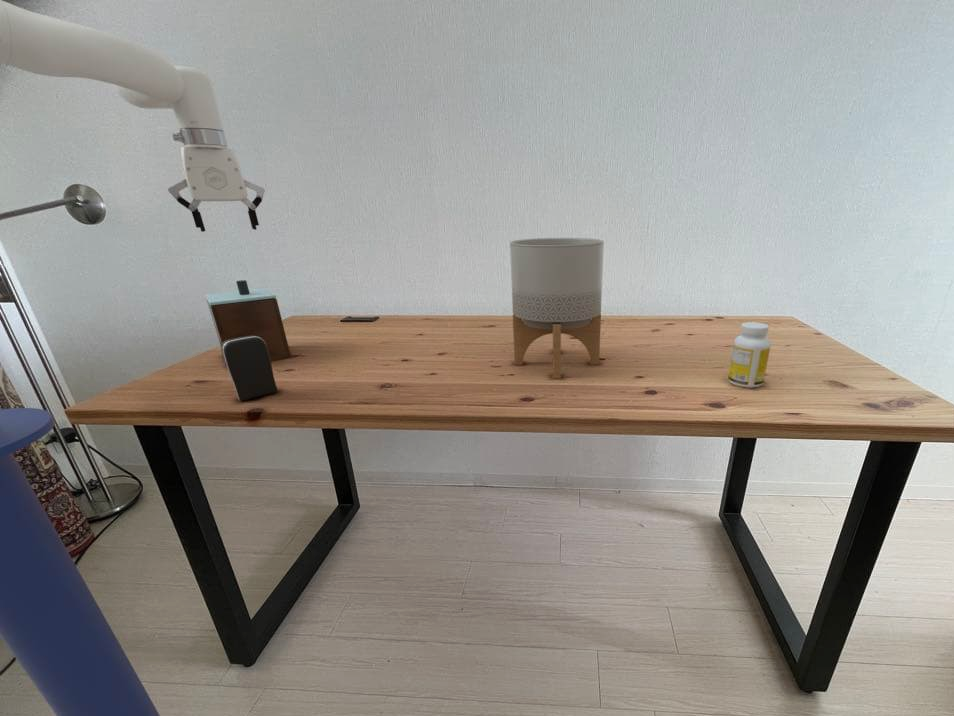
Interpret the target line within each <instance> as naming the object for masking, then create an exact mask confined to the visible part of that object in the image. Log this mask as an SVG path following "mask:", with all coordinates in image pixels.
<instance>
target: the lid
mask: <svg viewBox="0 0 954 716" xmlns="http://www.w3.org/2000/svg"><path fill="white" fill-rule="evenodd" d="M235 283H236V286H237V289H238V290H235V291H225V292H224V291H223V292H215V293H207V294H204V297H205V300H206V299H207V300H208V302H209V304H210V305H219V304H227V303H236V302H244V301H253V300H262V299H270V298H276V299H277V295H276V294H275V293H274V292H272V291H270V290H269V289H268V288H266V287H263V288H255V289H254V288H253V289H249V286H248V282H247V280H244V279H243V280H236V281H235ZM207 300H206V301H207Z"/></svg>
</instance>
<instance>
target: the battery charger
mask: <svg viewBox="0 0 954 716" xmlns="http://www.w3.org/2000/svg"><path fill="white" fill-rule="evenodd" d="M220 349H221V350H220V351H221V354H222V357H223V361H224V364H225V367H226V368H227V370H228V373H229V376H230V378H231V381H232V384H233V387H234V390H235V393H236V396H237V397H236V398H237V400H238V401H240V402H243V401H248V400H254V399H257V398H261V397H264V396H268V395H272V394H275V393H277V392H278V391H279V390H278V387H277V384H276V379H275V375H274V370H273V366H272V361H270V357H269V353H268V350H267V347H266V344H265V342H264V340H263V339H260V337H257V336H253V335H252V336H244V337H238V338H233V339H228V340H225V341H224V342H223V343H222V345H220Z"/></svg>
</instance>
